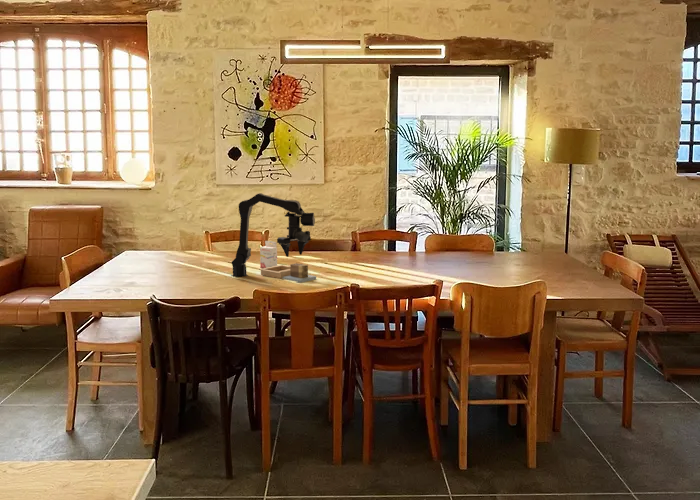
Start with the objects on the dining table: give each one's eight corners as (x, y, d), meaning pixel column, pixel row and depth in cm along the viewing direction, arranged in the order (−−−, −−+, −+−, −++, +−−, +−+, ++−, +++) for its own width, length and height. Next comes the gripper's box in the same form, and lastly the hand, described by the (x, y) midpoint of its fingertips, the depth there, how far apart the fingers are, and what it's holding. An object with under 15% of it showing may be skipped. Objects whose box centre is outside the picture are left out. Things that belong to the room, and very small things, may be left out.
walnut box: (301, 278, 376) (301, 266, 375) (290, 276, 382) (290, 264, 381) (308, 276, 380) (307, 264, 379) (296, 274, 385) (296, 263, 384)
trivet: (299, 282, 373) (299, 279, 372) (282, 279, 380) (282, 276, 380) (316, 279, 381) (316, 276, 381) (299, 276, 389) (299, 273, 389)
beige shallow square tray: (279, 279, 380) (278, 272, 380) (259, 275, 390) (259, 268, 390) (301, 274, 393) (301, 267, 392) (282, 271, 402) (281, 264, 402)
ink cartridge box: (259, 268, 412) (259, 241, 410) (265, 266, 416) (265, 240, 414) (272, 269, 407) (271, 242, 405) (277, 268, 412) (277, 241, 409)
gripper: (291, 228, 368) (291, 260, 371) (318, 225, 382) (318, 255, 385) (276, 226, 376) (276, 257, 378) (303, 223, 389) (302, 252, 392)
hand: (294, 255), depth 383 cm, fingers open, 9 cm apart
